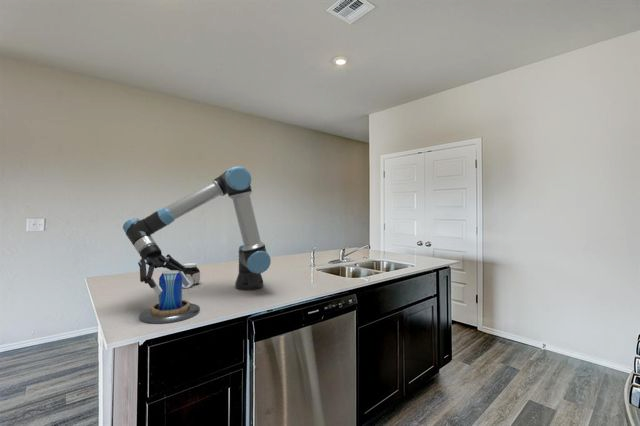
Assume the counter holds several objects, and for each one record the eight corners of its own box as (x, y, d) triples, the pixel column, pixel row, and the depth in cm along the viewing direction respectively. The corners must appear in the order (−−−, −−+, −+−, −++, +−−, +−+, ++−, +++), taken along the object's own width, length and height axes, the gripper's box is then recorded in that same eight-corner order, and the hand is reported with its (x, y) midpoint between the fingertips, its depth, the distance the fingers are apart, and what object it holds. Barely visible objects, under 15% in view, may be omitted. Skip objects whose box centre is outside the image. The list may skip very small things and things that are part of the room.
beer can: (159, 308, 125) (160, 270, 125) (181, 306, 129) (182, 269, 128) (157, 315, 118) (158, 274, 117) (181, 313, 121) (181, 273, 121)
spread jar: (196, 282, 175) (196, 262, 175) (204, 285, 167) (204, 265, 167) (174, 285, 167) (174, 264, 167) (181, 289, 159) (181, 267, 159)
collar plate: (191, 301, 138) (191, 294, 138) (206, 315, 121) (206, 307, 121) (135, 311, 125) (135, 303, 125) (143, 328, 108) (143, 318, 108)
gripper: (168, 251, 140) (193, 287, 135) (114, 259, 117) (141, 303, 112) (177, 240, 138) (202, 276, 133) (123, 247, 115) (151, 290, 109)
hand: (174, 288), depth 122 cm, fingers open, 13 cm apart
